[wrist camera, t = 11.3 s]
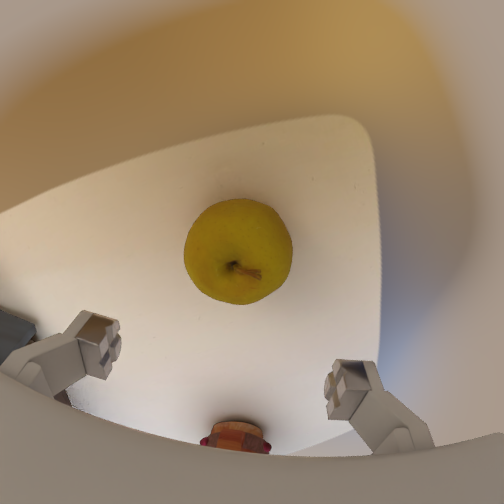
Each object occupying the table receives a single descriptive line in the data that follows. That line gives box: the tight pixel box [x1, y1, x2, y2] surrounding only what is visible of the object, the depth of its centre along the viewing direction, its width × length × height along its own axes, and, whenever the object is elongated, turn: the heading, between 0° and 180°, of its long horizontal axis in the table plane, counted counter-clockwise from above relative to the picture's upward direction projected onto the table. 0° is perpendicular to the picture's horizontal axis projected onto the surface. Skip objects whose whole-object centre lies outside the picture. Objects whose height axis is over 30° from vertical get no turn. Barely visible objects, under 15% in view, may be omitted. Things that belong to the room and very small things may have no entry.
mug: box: [200, 421, 271, 454], centre depth 25 cm, size 15×8×15 cm, turn 179°
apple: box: [184, 199, 293, 305], centre depth 19 cm, size 6×6×8 cm
